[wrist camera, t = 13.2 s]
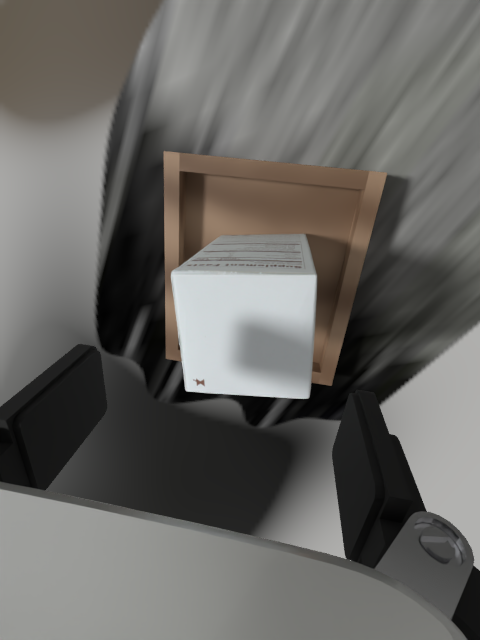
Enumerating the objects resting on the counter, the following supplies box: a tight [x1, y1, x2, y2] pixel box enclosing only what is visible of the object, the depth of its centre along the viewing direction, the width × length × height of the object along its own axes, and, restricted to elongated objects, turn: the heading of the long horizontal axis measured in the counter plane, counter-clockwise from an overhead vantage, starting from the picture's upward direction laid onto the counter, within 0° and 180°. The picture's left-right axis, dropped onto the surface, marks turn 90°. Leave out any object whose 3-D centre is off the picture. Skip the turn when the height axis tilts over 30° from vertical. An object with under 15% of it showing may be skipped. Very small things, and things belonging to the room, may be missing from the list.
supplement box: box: [171, 234, 317, 399], centre depth 22 cm, size 7×7×13 cm
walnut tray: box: [164, 151, 387, 386], centre depth 27 cm, size 18×16×2 cm
